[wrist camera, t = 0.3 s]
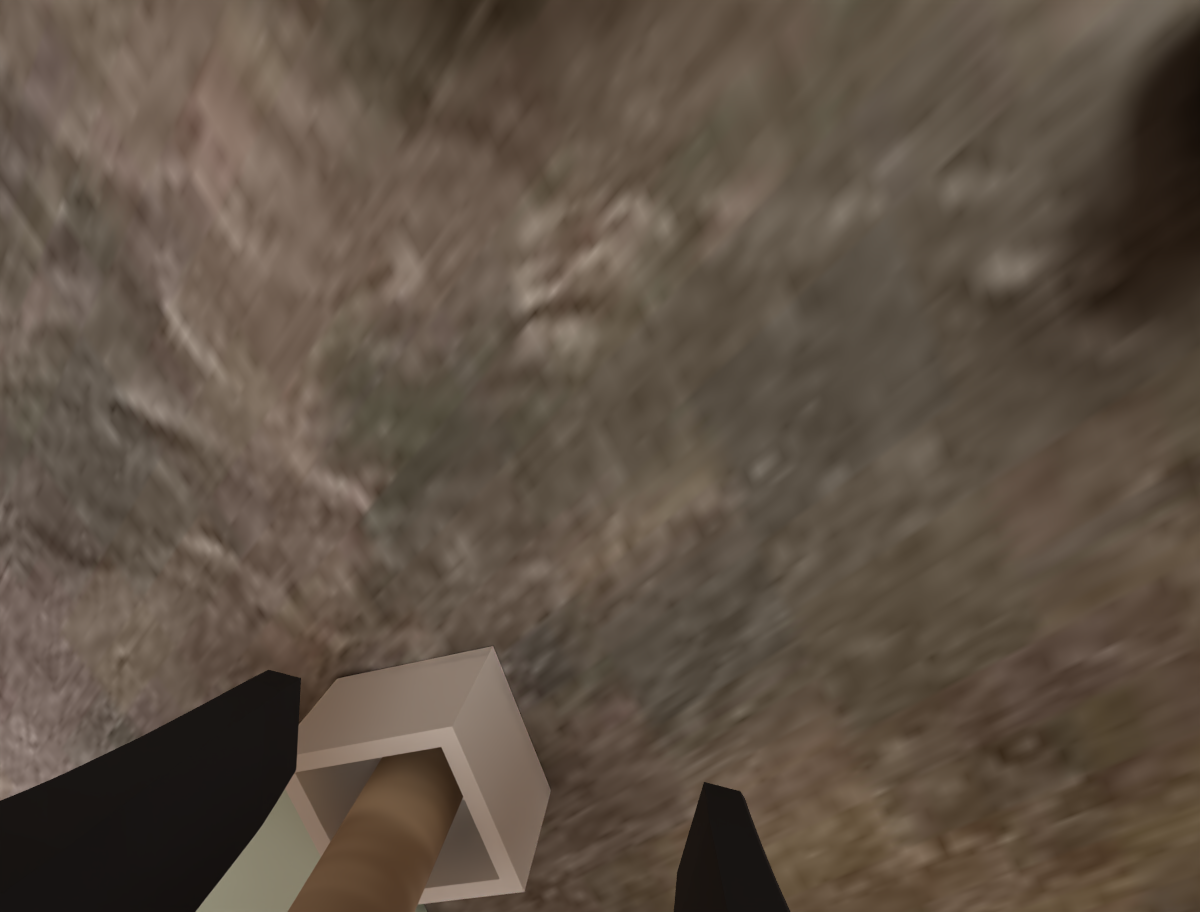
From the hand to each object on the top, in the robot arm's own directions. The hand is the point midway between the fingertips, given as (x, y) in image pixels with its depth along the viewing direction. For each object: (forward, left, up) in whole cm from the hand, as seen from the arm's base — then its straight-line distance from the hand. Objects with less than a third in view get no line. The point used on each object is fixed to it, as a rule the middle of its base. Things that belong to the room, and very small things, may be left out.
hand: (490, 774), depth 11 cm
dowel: (-6, +7, -10) cm, 14 cm away
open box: (-6, +7, -10) cm, 14 cm away
